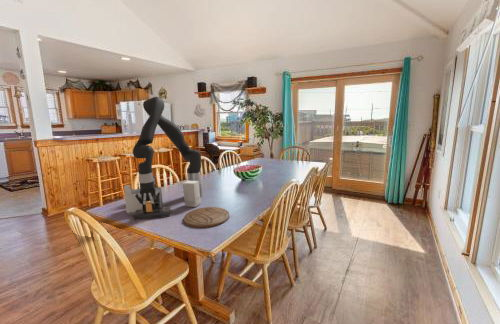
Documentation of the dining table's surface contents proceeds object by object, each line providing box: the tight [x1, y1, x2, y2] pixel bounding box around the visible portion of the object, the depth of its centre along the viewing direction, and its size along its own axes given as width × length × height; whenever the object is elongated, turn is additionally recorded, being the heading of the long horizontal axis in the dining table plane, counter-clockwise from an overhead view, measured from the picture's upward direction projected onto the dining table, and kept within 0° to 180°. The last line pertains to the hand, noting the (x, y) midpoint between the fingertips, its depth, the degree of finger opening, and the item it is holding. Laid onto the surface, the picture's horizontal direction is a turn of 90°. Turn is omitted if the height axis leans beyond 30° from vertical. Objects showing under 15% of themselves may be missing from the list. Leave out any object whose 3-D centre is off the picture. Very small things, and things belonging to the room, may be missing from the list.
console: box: [132, 206, 171, 221], centre depth 144 cm, size 19×8×3 cm, turn 103°
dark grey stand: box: [127, 186, 164, 216], centre depth 153 cm, size 18×12×12 cm
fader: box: [146, 201, 153, 212], centre depth 143 cm, size 3×4×5 cm
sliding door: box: [123, 184, 143, 214], centre depth 147 cm, size 9×2×16 cm, turn 103°
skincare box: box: [182, 180, 202, 208], centre depth 158 cm, size 8×7×16 cm
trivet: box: [183, 206, 230, 229], centre depth 139 cm, size 25×25×2 cm
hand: (149, 209), depth 144 cm, fingers closed on fader, 3 cm apart
